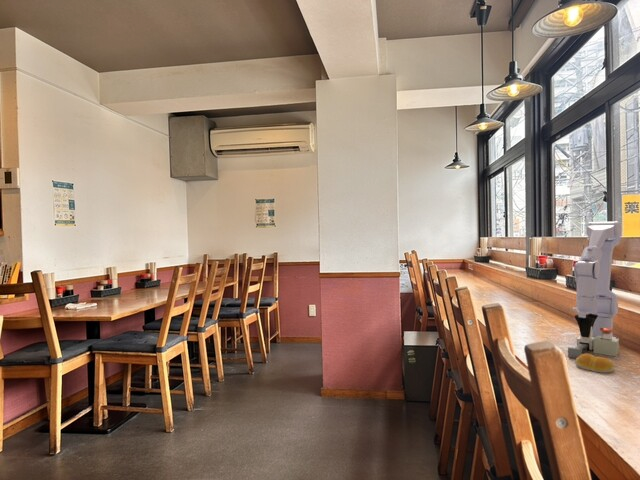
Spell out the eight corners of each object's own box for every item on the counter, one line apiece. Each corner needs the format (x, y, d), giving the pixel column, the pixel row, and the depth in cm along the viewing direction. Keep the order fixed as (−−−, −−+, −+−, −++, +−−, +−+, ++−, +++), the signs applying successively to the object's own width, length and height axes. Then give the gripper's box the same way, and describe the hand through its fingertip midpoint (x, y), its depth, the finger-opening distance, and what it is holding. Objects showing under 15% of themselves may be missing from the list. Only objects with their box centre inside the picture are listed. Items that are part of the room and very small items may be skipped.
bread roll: (609, 376, 110) (610, 361, 110) (572, 368, 117) (572, 354, 117) (618, 369, 115) (618, 355, 115) (582, 362, 122) (582, 349, 122)
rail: (583, 343, 144) (583, 334, 144) (595, 345, 141) (596, 336, 141) (567, 357, 126) (568, 347, 126) (581, 359, 124) (581, 349, 124)
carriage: (580, 344, 142) (580, 324, 142) (595, 346, 139) (595, 326, 139) (576, 347, 137) (576, 326, 137) (592, 350, 134) (592, 328, 134)
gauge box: (596, 349, 136) (596, 335, 136) (618, 352, 132) (618, 338, 132) (593, 352, 132) (593, 338, 132) (616, 356, 128) (616, 342, 128)
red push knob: (600, 343, 134) (601, 327, 134) (613, 344, 132) (613, 328, 132) (599, 345, 132) (599, 328, 132) (611, 346, 130) (611, 330, 130)
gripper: (577, 293, 146) (577, 330, 146) (567, 297, 135) (567, 337, 135) (600, 295, 141) (600, 333, 141) (593, 299, 131) (592, 341, 131)
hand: (586, 336), depth 138 cm, fingers closed on carriage, 3 cm apart
